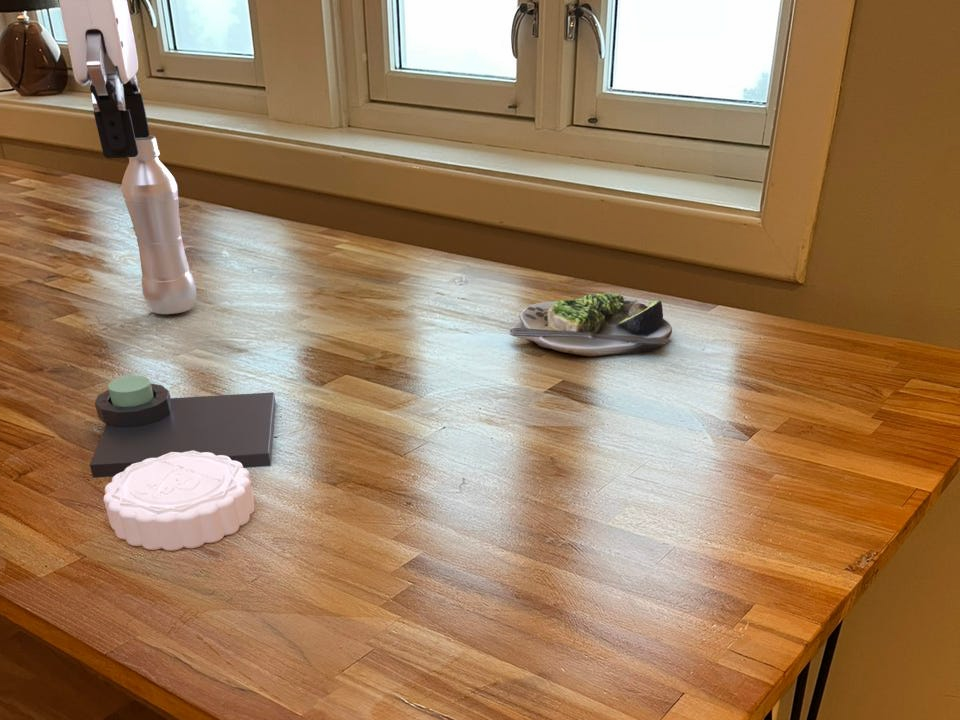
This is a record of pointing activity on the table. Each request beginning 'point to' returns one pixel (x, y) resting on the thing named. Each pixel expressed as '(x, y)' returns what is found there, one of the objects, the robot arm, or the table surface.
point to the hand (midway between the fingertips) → (128, 146)
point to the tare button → (130, 391)
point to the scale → (184, 429)
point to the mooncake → (179, 500)
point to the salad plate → (595, 325)
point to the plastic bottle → (158, 231)
